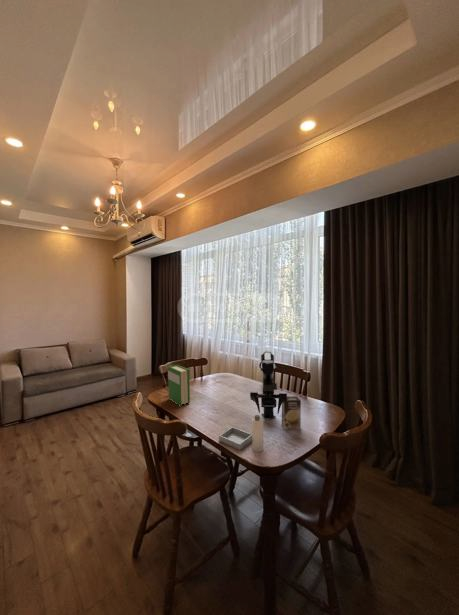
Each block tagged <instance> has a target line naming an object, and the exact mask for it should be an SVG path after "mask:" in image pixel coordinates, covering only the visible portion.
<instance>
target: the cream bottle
mask: <svg viewBox="0 0 459 615" xmlns="http://www.w3.org/2000/svg"><path fill="white" fill-rule="evenodd" d="M251 434H252V441H251V449H252V451H253V452H255V453H259V452H263V451H264V418H262V417H260V415H259V414H256V415H254V417H252V418H251Z"/></svg>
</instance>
